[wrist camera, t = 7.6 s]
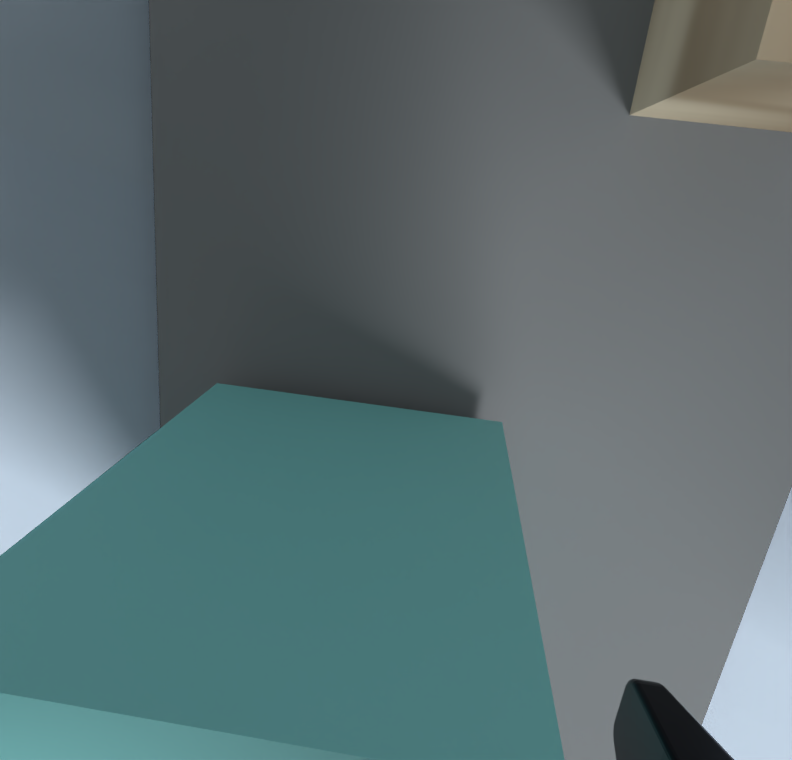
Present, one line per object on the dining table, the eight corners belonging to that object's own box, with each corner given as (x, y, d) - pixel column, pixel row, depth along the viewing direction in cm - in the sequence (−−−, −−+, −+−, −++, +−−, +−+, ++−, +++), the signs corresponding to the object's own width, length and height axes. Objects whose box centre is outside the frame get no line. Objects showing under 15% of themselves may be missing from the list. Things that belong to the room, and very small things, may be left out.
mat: (1066, -301, 7) (1100, -329, 7) (610, 935, 15) (614, 954, 15) (154, -354, 8) (138, -381, 8) (178, 851, 16) (172, 866, 16)
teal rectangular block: (502, 421, 10) (570, 794, 4) (460, 653, 12) (461, 1172, 6) (217, 382, 10) (-142, 667, 4) (216, 613, 12) (-40, 1059, 6)
